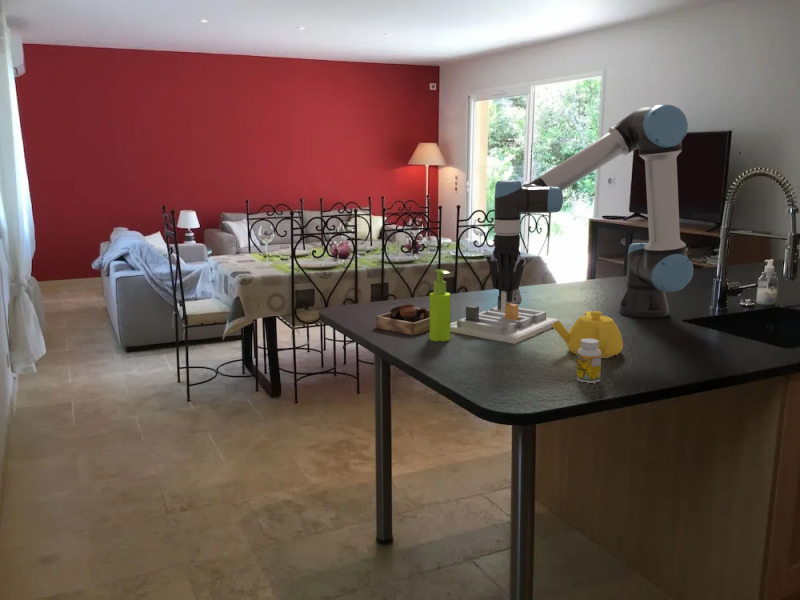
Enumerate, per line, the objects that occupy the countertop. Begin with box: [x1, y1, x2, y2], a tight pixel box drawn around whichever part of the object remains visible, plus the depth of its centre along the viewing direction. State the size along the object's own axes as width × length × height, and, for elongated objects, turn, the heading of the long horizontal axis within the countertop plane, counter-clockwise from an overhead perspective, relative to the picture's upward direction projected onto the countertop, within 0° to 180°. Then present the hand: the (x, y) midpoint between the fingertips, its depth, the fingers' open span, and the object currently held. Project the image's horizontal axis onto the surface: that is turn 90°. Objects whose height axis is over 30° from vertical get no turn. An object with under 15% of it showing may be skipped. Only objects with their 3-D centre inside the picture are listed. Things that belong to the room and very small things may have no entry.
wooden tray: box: [375, 306, 430, 336], centre depth 211 cm, size 15×17×4 cm
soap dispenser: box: [429, 268, 451, 342], centre depth 194 cm, size 6×7×20 cm
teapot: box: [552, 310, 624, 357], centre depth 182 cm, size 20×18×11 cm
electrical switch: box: [505, 288, 523, 305], centre depth 240 cm, size 9×5×9 cm, turn 152°
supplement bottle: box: [576, 338, 602, 384], centre depth 160 cm, size 5×5×10 cm
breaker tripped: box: [505, 303, 519, 320], centre depth 206 cm, size 3×3×6 cm
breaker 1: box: [465, 304, 480, 322], centre depth 204 cm, size 3×3×6 cm
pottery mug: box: [390, 304, 429, 323], centre depth 210 cm, size 12×10×8 cm
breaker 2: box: [497, 295, 501, 309], centre depth 218 cm, size 3×3×6 cm
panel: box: [450, 305, 561, 345], centre depth 208 cm, size 24×27×4 cm
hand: (505, 312), depth 207 cm, fingers closed
